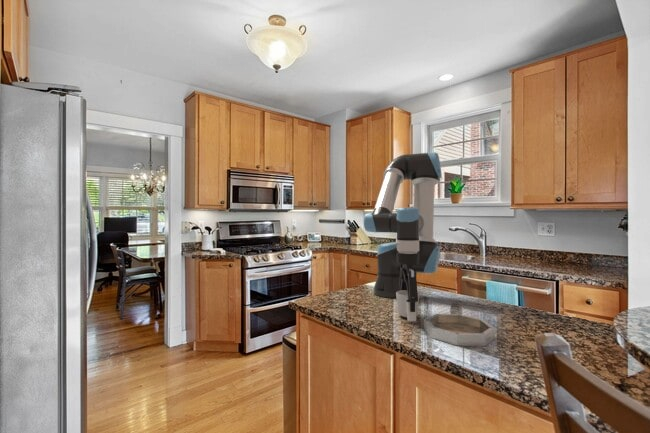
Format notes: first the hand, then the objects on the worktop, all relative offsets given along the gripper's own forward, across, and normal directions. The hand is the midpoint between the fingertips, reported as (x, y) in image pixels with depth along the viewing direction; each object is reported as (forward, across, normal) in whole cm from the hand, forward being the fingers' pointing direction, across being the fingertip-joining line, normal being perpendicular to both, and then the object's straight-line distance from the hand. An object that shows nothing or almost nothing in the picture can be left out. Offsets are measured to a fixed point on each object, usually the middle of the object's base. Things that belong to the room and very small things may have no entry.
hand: (407, 315), depth 112 cm
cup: (+1, 0, 0) cm, 1 cm away
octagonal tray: (+1, +14, +12) cm, 19 cm away
